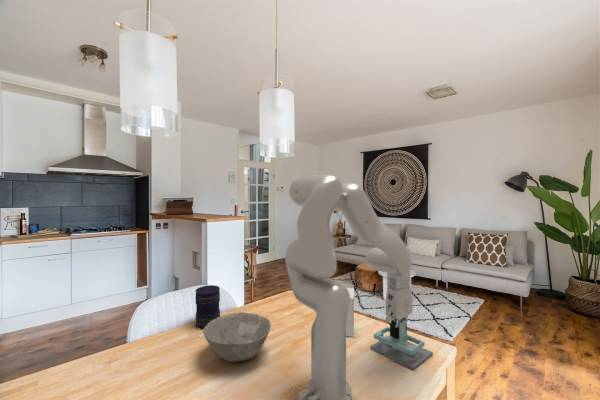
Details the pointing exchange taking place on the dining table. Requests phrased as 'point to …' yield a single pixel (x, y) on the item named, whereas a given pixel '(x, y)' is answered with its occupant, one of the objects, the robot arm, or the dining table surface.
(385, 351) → the board
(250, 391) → the dining table surface
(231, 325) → the ceramic bowl
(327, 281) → the robot arm
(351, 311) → the milk carton
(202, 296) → the storage jar
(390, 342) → the teal frame with block
